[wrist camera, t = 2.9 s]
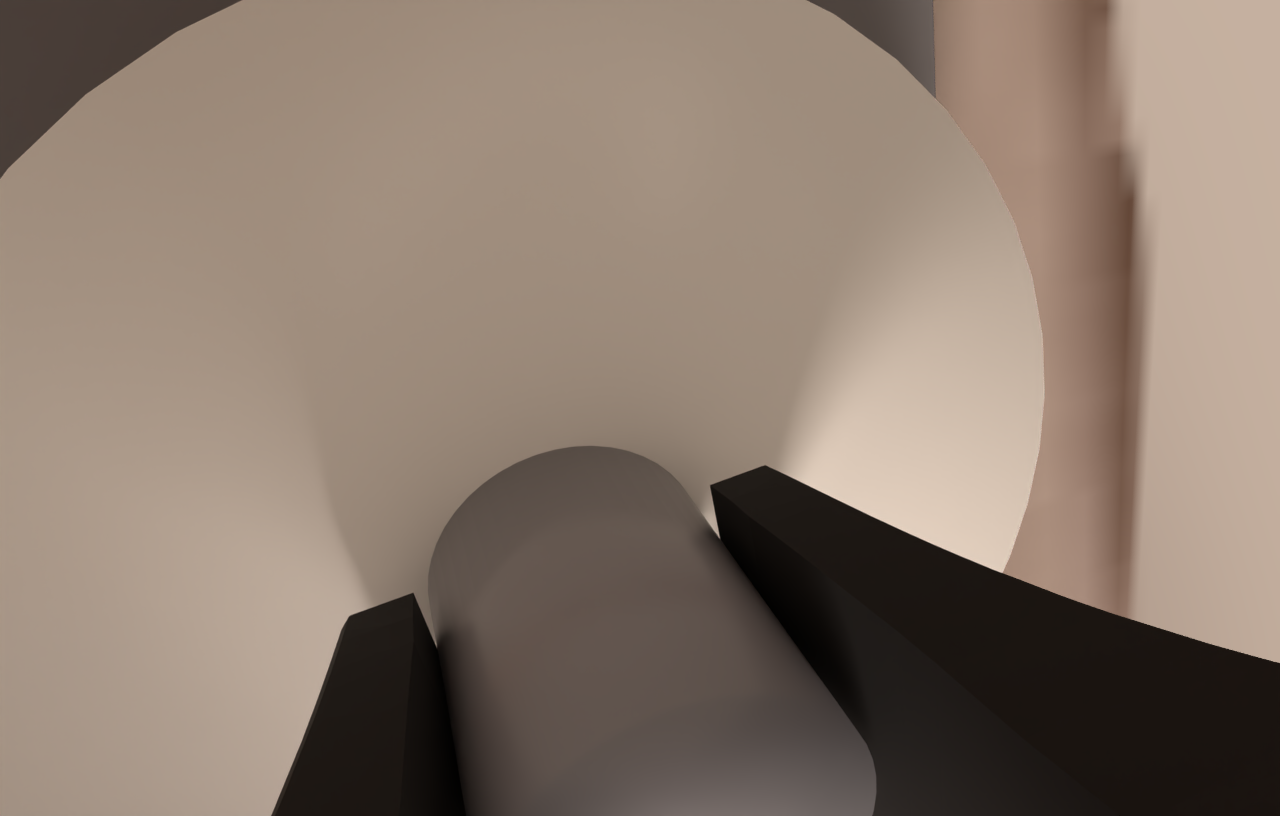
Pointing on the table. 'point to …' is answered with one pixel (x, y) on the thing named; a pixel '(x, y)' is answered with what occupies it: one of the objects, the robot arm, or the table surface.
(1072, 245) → the table surface
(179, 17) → the mat
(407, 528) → the lid
